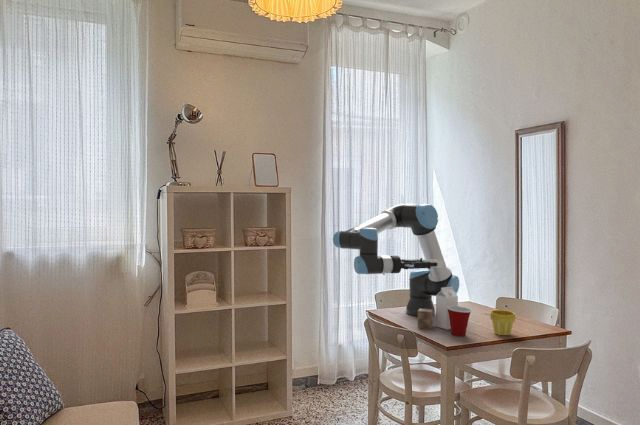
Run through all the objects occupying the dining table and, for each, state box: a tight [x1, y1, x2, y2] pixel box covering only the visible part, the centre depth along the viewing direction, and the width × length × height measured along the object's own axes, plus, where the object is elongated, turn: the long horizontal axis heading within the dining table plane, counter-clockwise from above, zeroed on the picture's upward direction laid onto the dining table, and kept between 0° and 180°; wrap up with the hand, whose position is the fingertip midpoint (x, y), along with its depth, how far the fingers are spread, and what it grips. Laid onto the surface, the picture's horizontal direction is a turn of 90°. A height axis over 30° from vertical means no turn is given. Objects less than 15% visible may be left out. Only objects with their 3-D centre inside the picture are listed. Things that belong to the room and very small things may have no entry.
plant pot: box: [489, 309, 516, 336], centre depth 209 cm, size 10×10×10 cm
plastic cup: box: [447, 305, 473, 337], centre depth 208 cm, size 11×11×12 cm
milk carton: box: [435, 287, 459, 330], centre depth 220 cm, size 7×7×19 cm
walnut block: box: [417, 308, 434, 330], centre depth 221 cm, size 6×6×8 cm
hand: (439, 263), depth 205 cm, fingers open, 5 cm apart
